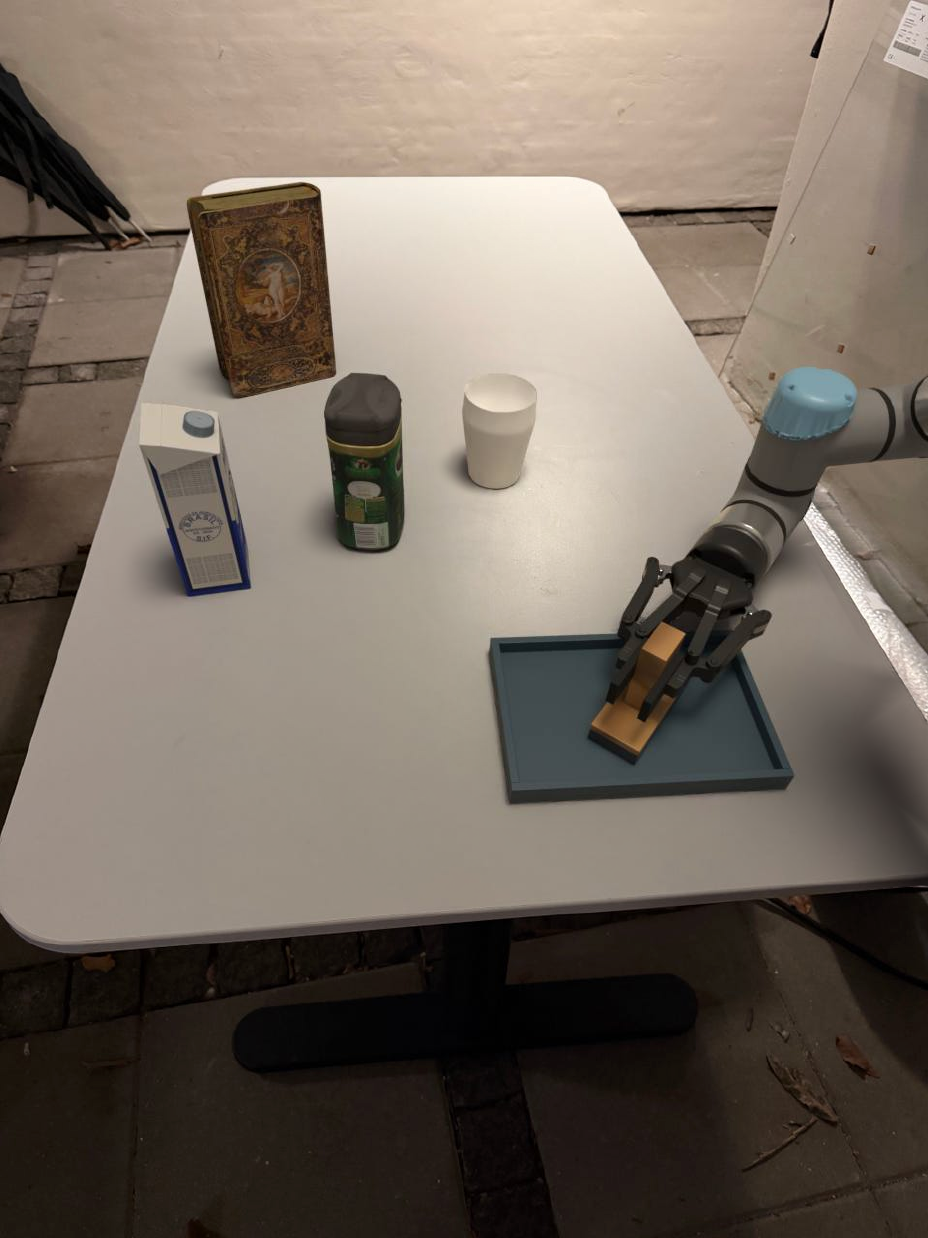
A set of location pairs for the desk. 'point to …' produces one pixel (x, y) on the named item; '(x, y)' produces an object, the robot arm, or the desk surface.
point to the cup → (497, 427)
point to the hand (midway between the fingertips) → (628, 702)
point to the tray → (675, 757)
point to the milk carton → (195, 496)
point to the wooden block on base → (639, 699)
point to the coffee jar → (366, 460)
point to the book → (266, 285)
